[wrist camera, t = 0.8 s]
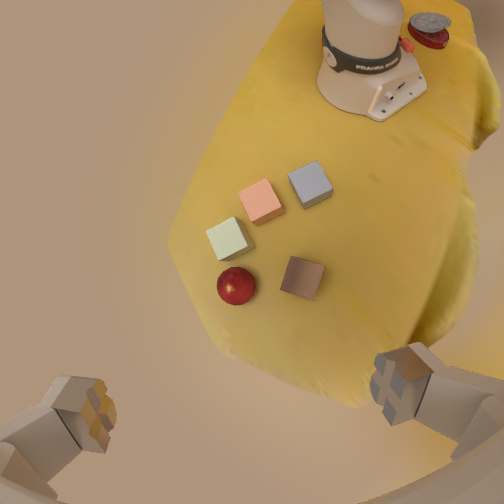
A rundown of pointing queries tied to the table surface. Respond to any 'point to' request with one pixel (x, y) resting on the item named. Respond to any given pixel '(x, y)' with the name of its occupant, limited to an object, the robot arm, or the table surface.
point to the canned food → (430, 29)
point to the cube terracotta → (261, 202)
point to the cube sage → (229, 239)
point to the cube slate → (310, 184)
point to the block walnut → (302, 278)
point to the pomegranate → (236, 286)
